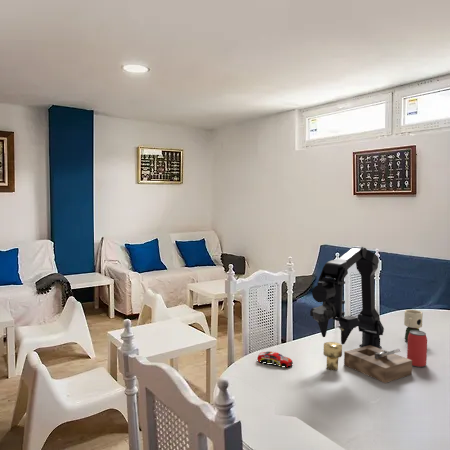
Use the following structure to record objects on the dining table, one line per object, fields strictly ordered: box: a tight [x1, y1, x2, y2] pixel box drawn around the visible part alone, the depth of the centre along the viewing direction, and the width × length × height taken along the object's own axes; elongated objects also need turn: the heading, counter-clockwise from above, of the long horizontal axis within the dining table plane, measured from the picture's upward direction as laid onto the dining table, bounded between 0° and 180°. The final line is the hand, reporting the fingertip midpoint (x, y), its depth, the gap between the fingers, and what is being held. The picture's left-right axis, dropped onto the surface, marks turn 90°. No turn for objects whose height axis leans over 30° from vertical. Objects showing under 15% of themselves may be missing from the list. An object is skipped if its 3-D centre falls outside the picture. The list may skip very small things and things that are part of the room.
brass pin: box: [322, 341, 343, 371], centre depth 154 cm, size 6×6×8 cm
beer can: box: [406, 330, 428, 368], centre depth 159 cm, size 7×7×12 cm
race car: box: [256, 351, 294, 368], centre depth 158 cm, size 13×5×4 cm, turn 63°
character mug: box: [403, 309, 423, 341], centre depth 185 cm, size 11×7×13 cm, turn 140°
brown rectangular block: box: [343, 345, 413, 384], centre depth 153 cm, size 18×14×7 cm
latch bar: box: [378, 348, 401, 358], centre depth 149 cm, size 8×3×2 cm, turn 31°
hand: (333, 340), depth 154 cm, fingers open, 9 cm apart
